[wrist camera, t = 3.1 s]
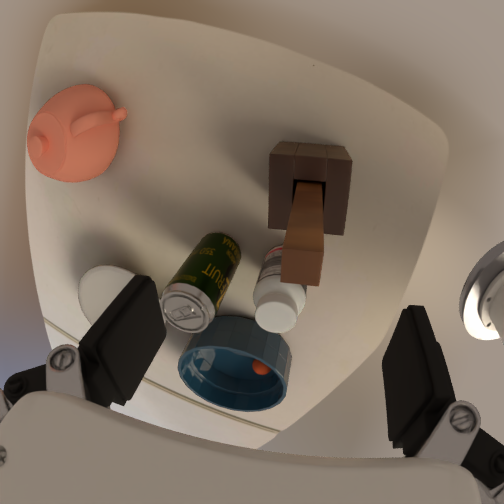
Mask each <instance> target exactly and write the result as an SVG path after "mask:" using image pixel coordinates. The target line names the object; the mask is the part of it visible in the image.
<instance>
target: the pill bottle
mask: <svg viewBox="0 0 504 504" xmlns="http://www.w3.org/2000/svg"><path fill="white" fill-rule="evenodd" d="M282 247H283V245H282V246H277V247H275V248H273V249H271V250H270V251H269V252H268V253H267V255H266V256H265V259H264V262H263V265H262V267H261V271H260V273H259V277H258V280H257V283H256V286H255V289H254V292H253V300H254V304H255V306H256V311H255V319H256V322H257V323H258V325H259V326H260V327H261V328H263V329H264V330H266V331H269V332H273V333H283V332H287V331H289V330H290V329H292V328H293V327H294V325H295V324H296V321H297V316H298V314H300V312H301V311H302V310H303V308H304V306H305V302H306V289H307V285H300V284H291V283H282V282H280V276H281V258H282Z"/></svg>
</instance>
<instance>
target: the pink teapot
mask: <svg viewBox="0 0 504 504" xmlns="http://www.w3.org/2000/svg"><path fill="white" fill-rule="evenodd" d="M126 117H127V110H126V108H125V107H121V108H119V109H117V110H116V109H115V107H114V105H113V103H112V101H111V99H110V98H109V97H108V95H107V94H106V93H105V92H104V91H102V90H101V89H99V88H97V87H95V86H93V85H89V84H81V85H75V86H72V87H69V88H66V89H64V90H62V91H61V92H59V93H57V94H56V95H54V96H53V97H52V98H51V99H49V100H48V101H47V102H46V103H45V104H44V106H43V107H42V108H41V109H40V110H39V111H38V113H37V114H36V115H35V117H34V118H33V120H32V122H31V124H30V127H29V130H28V135H27V147H28V153H29V156H30V159H31V161H32V163H33V165H34V166H35V168H36V169H37V170H38V171H39V172H40V173H42V174H44V175H45V176H47V177H50V178H53V179H56V180H59V181H63V182H82V181H86V180H90V179H92V178H95V177H97V176H99V175H100V174H102V173H103V172H104V171H105V170H106V169H107V168H108V166H109V165H110V164H111V162H112V161H113V159H114V156H115V154H116V151H117V148H118V143H119V133H120V129H119V121H122V120H123V119H125V118H126Z"/></svg>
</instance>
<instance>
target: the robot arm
mask: <svg viewBox="0 0 504 504" xmlns="http://www.w3.org/2000/svg"><path fill="white" fill-rule="evenodd" d="M479 316H480V319H481V321H482V323H483V325H484V326H485V328H487V329H489V330H491V331H497V332H498V334H499V336H500V339H501V341H502V343H503V345H504V270H503V271H502V272H501V273H499V274H498V275H497V276H496V277H495V278H494V280H493V281H492V282H491V283H490V285H489V286H488V288H487V289H486V291H485V293H484V295H483V297H482V300H481V303H480V308H479ZM165 337H166V327H165V323H164V319H163V315H162V311H161V307H160V303H159V298H158V294H157V290H156V285H155V282H154V281H152V279H151V278H150V277H149V276H144V275H135V276H134V277H133V278H132V279H131V280H130V281H129V282H128V284H127V285H126V286H125V287H124V288H123V289H122V291H121V292H120V293H119V294H118V295H117V296H116V298H115V299H114V300H113V301H112V302H111V304H110V305H109V306H108V307H107V308H106V310H105V311H104V312H103V313H102V314H101V316H100V317H99V318H98V319H97V321H96V322H95V323H94V324H93V325H92V327H91V328H90V329H89V330H88V332H87V333H86V334H85V336H84V337H83V338H82V339H81V341H80V342H79V347H78V348H76V347H75V346H73V345H68V344H65V345H61V346H58V347H56V348H55V349H53V350H52V351H51V352H50V353H49V355H48V357H47V360H46V364H44V365H41V366H38V367H35V368H32V369H28V370H26V371H22V372H19V373H16V374H14V375H12V376H11V377H9V378H8V380H7V381H6V383H5V385H4V390H2V389H1V388H0V504H504V445H502V444H501V443H500V442H498V441H497V440H496V439H494V438H493V437H491V436H490V435H489V434H488V433H486V432H485V431H484V430H482V429H481V428H480V424H481V418H480V415H479V412H478V410H477V409H476V407H475V406H474V405H472V404H471V403H469V402H467V401H461V400H460V401H456V398H455V394H454V390H453V386H452V383H451V379H450V375H449V372H448V368H447V365H446V362H445V359H444V355H443V352H442V349H441V346H440V344H439V343H438V342H436V339H435V335H434V333H433V330H432V327H431V324H430V321H429V318H428V316H427V313H426V310H425V308H424V306H417V305H409V306H408V307H407V309H403V310H402V313H401V315H400V318H399V321H398V323H397V326H396V328H395V331H394V333H393V336H392V338H391V340H390V343H389V345H388V347H387V350H386V352H385V355H384V357H383V360H382V371H383V379H384V389H385V398H386V410H387V424H388V438H389V441H393V448H403V454H404V456H403V457H402V458H337V457H336V458H335V457H318V456H305V455H294V454H285V453H277V452H270V451H263V450H256V449H250V448H244V447H239V446H234V445H229V444H224V443H219V442H215V441H210V440H206V439H202V438H198V437H194V436H190V435H186V434H183V433H179V432H175V431H172V430H169V429H165V428H162V427H159V426H156V425H153V424H149V423H146V422H143V421H141V420H138V419H135V418H132V417H129V416H127V415H124V414H121V413H118V412H116V411H113V410H111V409H110V405H111V403H112V402H114V403H117V404H119V405H122V406H124V405H125V403H126V401H127V400H128V401H129V400H130V399H131V398H132V397H133V395H134V393H135V391H136V389H137V388H138V386H139V384H140V382H141V380H142V378H143V377H144V375H145V373H146V371H147V369H148V368H149V366H150V364H151V362H152V361H153V359H154V357H155V355H156V353H157V352H158V350H159V348H160V346H161V345H162V343H163V341H164V339H165Z"/></svg>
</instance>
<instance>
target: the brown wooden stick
mask: <svg viewBox="0 0 504 504" xmlns="http://www.w3.org/2000/svg"><path fill="white" fill-rule="evenodd" d="M323 256H324V232H323V201H322V182H321V181H310V180H299V179H298V182H297V187H296V191H295V195H294V200H293V204H292V208H291V213H290V217H289V221H288V226H287V230H286V234H285V238H284V242H283V247H282V258H281V276H280V282H282V283H291V284H300V285H310V286H319V284H320V277H321V270H322V263H323Z"/></svg>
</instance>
